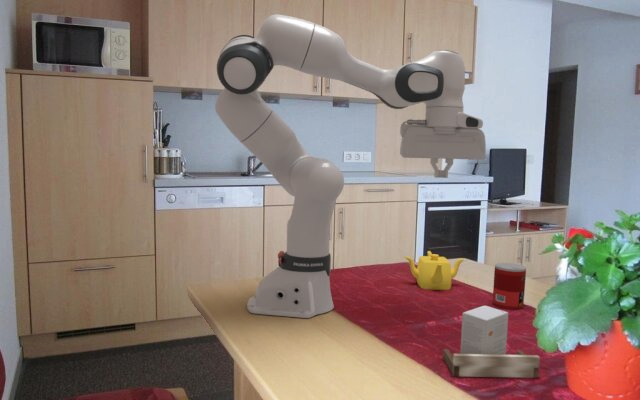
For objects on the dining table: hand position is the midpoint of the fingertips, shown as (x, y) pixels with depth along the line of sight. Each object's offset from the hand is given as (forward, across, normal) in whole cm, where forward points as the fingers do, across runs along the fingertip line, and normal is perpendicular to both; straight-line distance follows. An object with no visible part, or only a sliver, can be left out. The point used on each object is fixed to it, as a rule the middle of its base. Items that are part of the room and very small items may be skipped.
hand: (440, 177), depth 127 cm
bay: (+35, +4, -29) cm, 46 cm away
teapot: (+35, +7, +30) cm, 47 cm away
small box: (+35, +4, -27) cm, 45 cm away
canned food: (+35, +23, +11) cm, 44 cm away
